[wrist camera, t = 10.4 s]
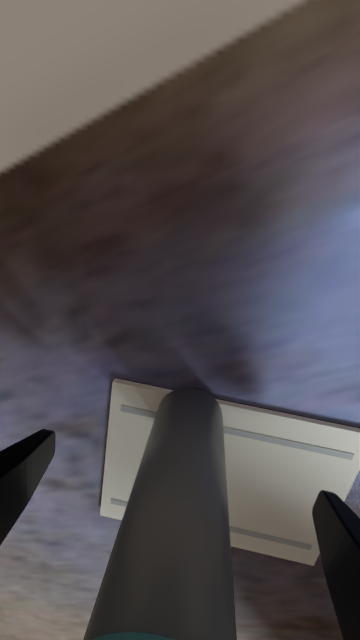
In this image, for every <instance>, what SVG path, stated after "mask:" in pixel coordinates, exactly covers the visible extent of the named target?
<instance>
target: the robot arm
mask: <svg viewBox="0 0 360 640" xmlns="http://www.w3.org/2000/svg"><path fill="white" fill-rule="evenodd" d="M54 453H55V432H54V431H51V430H47V429H42V430H40V431H38V432H36V433H34V434H32V435H30V436H28V437H26V438H24V439H23V440H21V441H19V442H17V443H15V444H13V445H11V446H9V447H7V448H6V449H4V450H2V451H0V545H1V544H2V542H3V541H4V539H5V538H6V536H7V535H8V533H9V531H10V530H11V528H12V527H13V525H14V524H15V522H16V521H17V519H18V518H19V516H20V515H21V513H22V512H23V510H24V509H25V507H26V506H27V504H28V502H29V500H30V499H31V497H32V495H33V493H34V491H35V490H36V488H37V486H38V484H39V482H40V480H41V478H42V477H43V475H44V473H45V471H46V469H47V467H48V465H49V464H50V462H51V460H52V458H53V456H54ZM312 517H313V522H314V526H315V531H316V536H317V541H318V546H319V551H320V556H321V561H322V565H323V570H324V574H325V578H326V581H327V585H328V588H329V592H330V595H331V599H332V602H333V605H334V609H335V612H336V616H337V619H338V622H339V626H340V629H341V633H342V636H343V639H344V640H360V518H359V517H358V516H357V515H356V514H355V513H354V512H353V511H352V510H351V509H350V508H349V507H348V506H347V505H346V504H345V503H344V502H343V501H342V499H341V498H340V497H339V496H338V495H337V494H335V493H333V492H330V491H325V490H321V491H320V492H319V494H318V496H317V498H316V501H315V503H314V505H313V508H312Z"/></svg>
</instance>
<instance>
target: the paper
mask: <svg viewBox="0 0 360 640" xmlns="http://www.w3.org/2000/svg"><path fill="white" fill-rule="evenodd" d="M171 391H173V390H170V389H165V388H160V387H155V386H150V385H145V384H140V383H136V382H131V381H126V380H121V379H116V378H115V379H114V380H113V382H112V392H111V403H110V413H109V424H108V435H107V445H106V456H105V467H104V478H103V488H102V499H101V510H100V515H101V516H105V517H109V518H114V519H118V520H122V518H123V515H124V512H125V509H126V506H127V503H128V500H129V497H130V494H131V491H132V487H133V484H134V481H135V478H136V475H137V472H138V469H139V466H140V463H141V460H142V456H143V453H144V450H145V447H146V444H147V441H148V438H149V435H150V432H151V429H152V425H153V422H154V419H155V416H156V413H157V410H158V407H159V404H160V402H161V401H162V399H163V398H164V397H165V396H166V395H167V394H168V393H170V392H171ZM215 400H216V401H217V402H218V404H219V406H220V408H221V411H222V416H223V432H224V448H225V464H226V480H227V495H228V511H229V527H230V543H231V546H232V547H236V548H240V549H244V550H249V551H253V552H257V553H261V554H265V555H270V556H274V557H278V558H282V559H286V560H291V561H295V562H299V563H303V564H308V565H312V566H314V564H315V562H316V560H317V558H318V556H319V554H320V551H319V546H318V541H317V536H316V531H315V526H314V522H313V517H312V508H313V505H314V503H315V501H316V498H317V496H318V494H319V492H320V491H321V490H325V491H330V492H333V493H335V494H337V495H338V496H339V497H340V498H341V499H342V501H343V502H344V501H345V499H346V497H347V495H348V493H349V491H350V489H351V487H352V485H353V483H354V481H355V478H356V476H357V474H358V472H359V470H360V428H355V427H350V426H346V425H341V424H336V423H331V422H326V421H321V420H316V419H311V418H306V417H302V416H297V415H292V414H287V413H282V412H277V411H272V410H267V409H263V408H258V407H253V406H248V405H243V404H238V403H233V402H228V401H223V400H219V399H215Z"/></svg>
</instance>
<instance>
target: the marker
mask: <svg viewBox="0 0 360 640" xmlns="http://www.w3.org/2000/svg"><path fill="white" fill-rule="evenodd" d="M83 640H237V637H236V622H235V606H234V590H233V574H232V558H231V543H230V527H229V511H228V495H227V480H226V464H225V448H224V432H223V416H222V411H221V408H220V406H219V404H218V402H217V401H216V400H215V399H214V398H213V397H212V396H211V395H210V394H208V393H206V392H205V391H202V390H200V389H196V388H180V389H176V390H173V391H171V392H170V393H168V394H167V395H166V396H165V397H164V398H163V399H162V401H161V402H160V404H159V407H158V410H157V413H156V416H155V419H154V422H153V425H152V429H151V432H150V435H149V438H148V441H147V444H146V447H145V450H144V453H143V456H142V460H141V463H140V466H139V469H138V472H137V475H136V478H135V481H134V484H133V487H132V491H131V494H130V497H129V500H128V503H127V506H126V509H125V512H124V515H123V518H122V522H121V525H120V528H119V531H118V534H117V537H116V540H115V543H114V546H113V549H112V553H111V556H110V559H109V562H108V565H107V568H106V571H105V574H104V577H103V580H102V584H101V587H100V590H99V593H98V596H97V599H96V602H95V605H94V608H93V611H92V615H91V618H90V621H89V624H88V627H87V630H86V633H85V636H84V639H83Z"/></svg>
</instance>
